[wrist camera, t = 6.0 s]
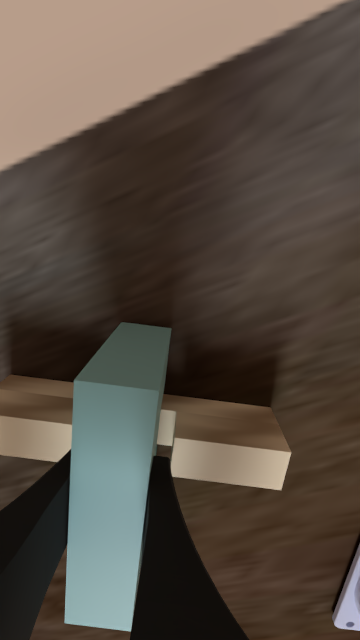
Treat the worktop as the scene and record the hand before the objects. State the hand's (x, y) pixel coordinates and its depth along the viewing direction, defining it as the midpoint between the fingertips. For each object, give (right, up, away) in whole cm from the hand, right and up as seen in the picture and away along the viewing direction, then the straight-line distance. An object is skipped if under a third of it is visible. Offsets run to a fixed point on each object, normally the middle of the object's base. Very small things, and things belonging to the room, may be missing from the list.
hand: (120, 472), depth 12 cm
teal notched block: (0, +1, +4) cm, 4 cm away
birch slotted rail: (0, +1, +5) cm, 5 cm away
